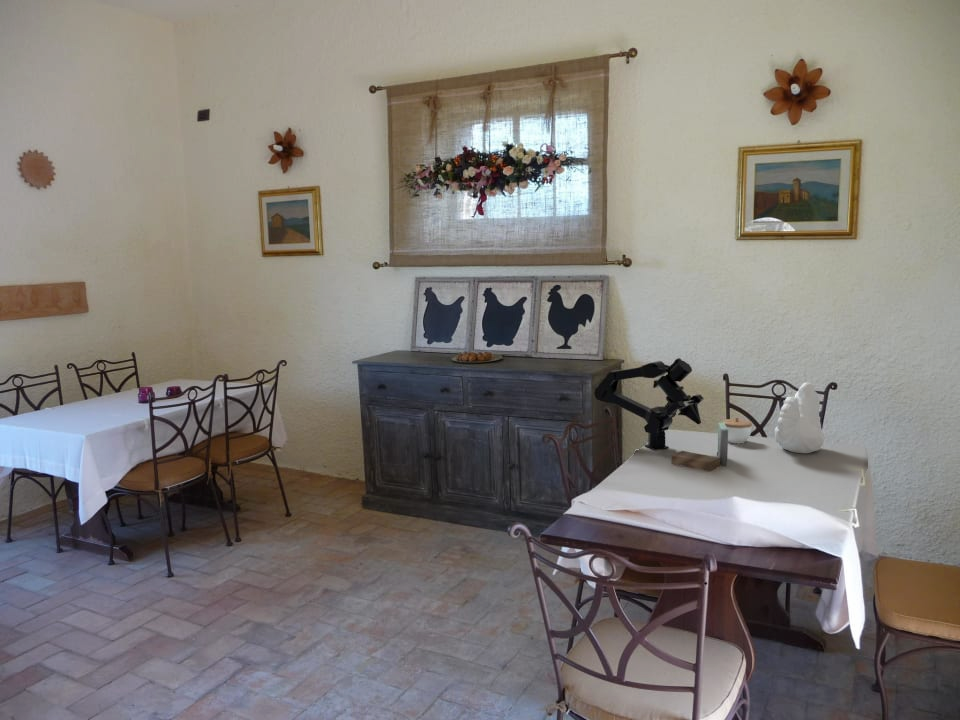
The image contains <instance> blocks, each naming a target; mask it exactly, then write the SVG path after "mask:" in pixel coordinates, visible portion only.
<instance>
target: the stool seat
mask: <svg viewBox="0 0 960 720" xmlns="http://www.w3.org/2000/svg"><path fill="white" fill-rule="evenodd" d="M670 464H671V465H676V466H681V467H686V468H691V469H696V470H701V471H707V472H711V470H712V471H713V469H714V470H716V469H718V468H719V467H721V465H720V458H719V457H718V456H713V455H706V454H703V453H702V454H701V453H697V452H696V453H695V452H692V451H691V452H690V451H685V450H681V451H679V452H676V453H673V454H671V463H670ZM717 467H718V468H717Z"/></svg>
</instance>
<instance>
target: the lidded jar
mask: <svg viewBox="0 0 960 720" xmlns="http://www.w3.org/2000/svg"><path fill="white" fill-rule="evenodd" d="M721 422H724V423H725V425H726V428H727V430H728V443H730V444H735V445H736V443H737V444H738V445H739V444H740V443H742V444H745V443H746V441H747V440H749V438H750V436H751V433H752V426H753V423H752V421H750V420H746V419H741V418H739V417H735V418H729V419H728V418H727V419H723V420H721ZM740 445H741V444H740Z"/></svg>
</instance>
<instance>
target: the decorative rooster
mask: <svg viewBox="0 0 960 720" xmlns="http://www.w3.org/2000/svg"><path fill="white" fill-rule="evenodd" d="M815 389H816V388H815V385H814V384H813V382H807V381H805V382H803V383H802V384H801V385H800V387H799V388H798V390H797V392H795V395H794V396H787V397H786V398H785V400H784V402H783V405H782V406H781V407H780V410H779V415H778V416H779V417H778V419H777V421H776V422H777V423H776V424H777V425H776V427H775V428H774V434H775V435H774V436H775V441H776V443H778V444H779V446H780V447H781V448H782V449H784V450H787V451H789V452H791V453H794V452H795V453H796V454H797V453H798V454H810V453H813V452H817V451H819V450H820V449H822V447H823V445H824V442H825V441H824V440H825V438H824V433H823V429H822V423H821V420H820V405H821V404H820V401H821V400H820V395H819V394H818V392H817V391H816V390H815Z"/></svg>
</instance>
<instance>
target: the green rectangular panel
mask: <svg viewBox="0 0 960 720" xmlns="http://www.w3.org/2000/svg"><path fill="white" fill-rule="evenodd" d="M717 424H718V426H717V427H718V428H717V429H718V430H717V451H716V457H719V458H720V466H728V450H729V449H728V447H729V444H728V443H729V442H728V430H727V428H726V425H725V423H724V422H722V421H721V422H718V423H717Z"/></svg>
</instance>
